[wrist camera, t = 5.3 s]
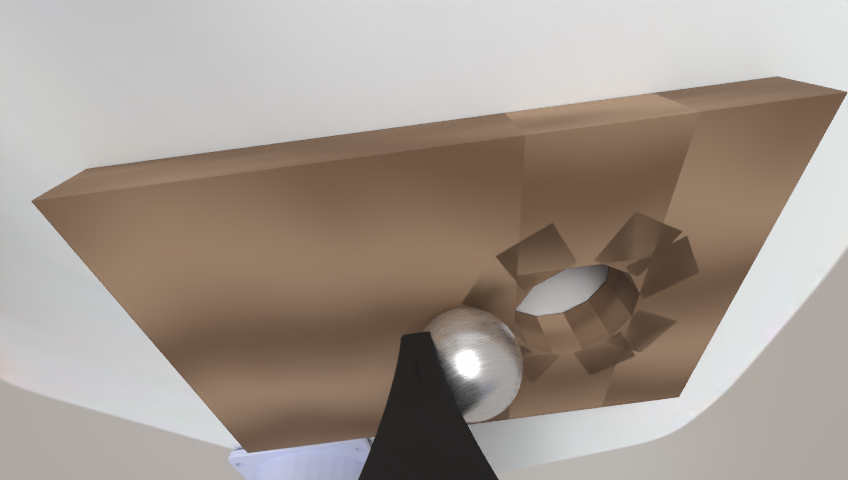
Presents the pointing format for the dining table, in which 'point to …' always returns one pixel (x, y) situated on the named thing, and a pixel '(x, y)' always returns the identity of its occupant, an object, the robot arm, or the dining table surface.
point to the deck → (446, 249)
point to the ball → (477, 361)
